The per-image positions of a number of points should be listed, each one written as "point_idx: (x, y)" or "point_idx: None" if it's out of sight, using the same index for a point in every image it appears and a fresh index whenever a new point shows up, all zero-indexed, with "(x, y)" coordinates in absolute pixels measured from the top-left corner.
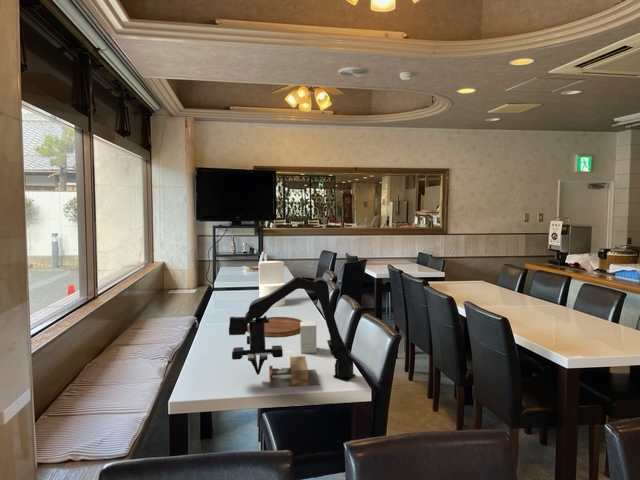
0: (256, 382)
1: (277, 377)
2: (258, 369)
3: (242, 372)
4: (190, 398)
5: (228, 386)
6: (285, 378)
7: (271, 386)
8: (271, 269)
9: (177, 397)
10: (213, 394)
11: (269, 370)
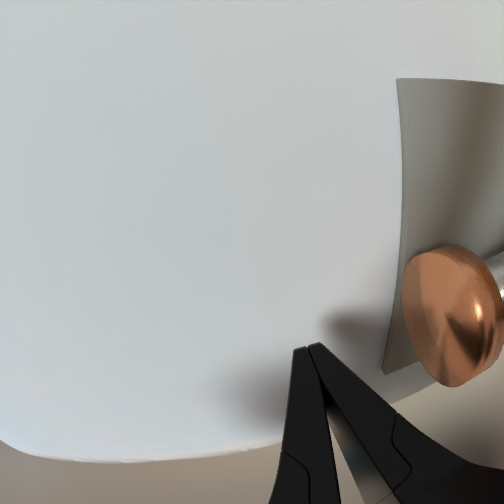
0: (279, 337)
1: (458, 238)
2: (337, 436)
3: (16, 130)
4: (42, 451)
5: (92, 401)
6: (495, 248)
7: (393, 371)
8: None
9: (4, 440)
10: (90, 445)
11: (442, 383)
